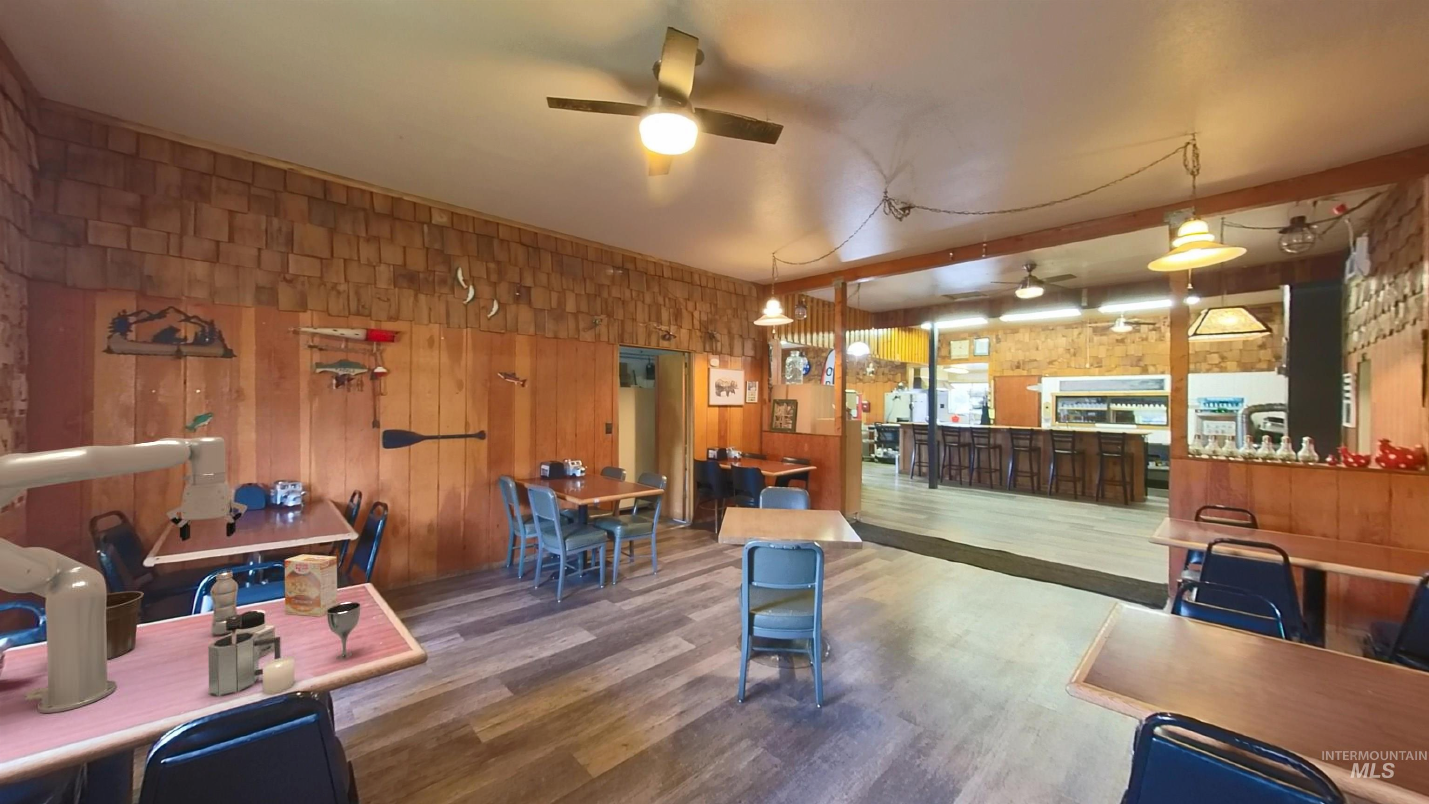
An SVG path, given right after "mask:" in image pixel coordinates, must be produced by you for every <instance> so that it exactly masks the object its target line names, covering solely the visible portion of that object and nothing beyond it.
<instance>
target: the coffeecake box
mask: <svg viewBox="0 0 1429 804" xmlns="http://www.w3.org/2000/svg"><path fill="white" fill-rule="evenodd" d="M337 561H338V559H337V556H333V555H330V556H329V555H320V554H319V555H318V554H299V555H296V556H293V557H289V558H287V559H284V595H285V596H284V608H285V609H284V611H285V612H284V614H285V615H294V616H296V615H297V616H307V617H318V618H319V617H323V616H325V615H326V616H327V610H328V609H329V608H331V607H333V606H335V605H338V562H337Z"/></svg>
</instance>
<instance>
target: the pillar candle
mask: <svg viewBox="0 0 1429 804" xmlns="http://www.w3.org/2000/svg"><path fill="white" fill-rule="evenodd" d="M295 661H296V660H295V657H292V656H285V657H283V656H282V657H281V658H278V659H275V658H274V659H273V660H270V661H268V662H266V663H265V664H263V666H262V669H263V674H262V694H263V695H275V694H279V693H282V692H284V691H286V690H289V689H290V688H291V687H293V686H294V685H295Z"/></svg>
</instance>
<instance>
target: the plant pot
mask: <svg viewBox="0 0 1429 804" xmlns="http://www.w3.org/2000/svg"><path fill="white" fill-rule="evenodd" d="M143 597H144V592H142V591H137V590H136V591H135V590H133V591H131V590H129V591H127V590H126V591H118V592H112V593H107V598H106V636H107V661H108V660H112V659H115V658H117V657H120V656H122V655H124V654H127V653H128V652H129V651H130V650H133V649H134V648H135V647H136V639H137V628H138V619H139V618H138V617H139V610H140V609H141V604H142V603H141V602H142V599H143Z"/></svg>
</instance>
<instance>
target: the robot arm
mask: <svg viewBox="0 0 1429 804" xmlns="http://www.w3.org/2000/svg"><path fill="white" fill-rule="evenodd" d="M186 462H188V467H189V468H188V472H189V473H188V475H187V476H182V481H183V482H188V485H185V486H184V489H183V493H182V500H181V505H180V506H178V507H176V508H174V509H171V510H170V511H167V512H166V515H167V517H168V518H169V520H170V521H171V522H172V523H173V524H175V525H176V526H177V527H178V528H179V538H181V542H185V541H187V540H190V538H191V525H190V524H189V523H190V522H191V521H200V520H213V519H222V518H223V519H224V520H225V521H227V523H226V524H225V525H226V526H225V528H226V531H225V532H226V537H228V538H229V537H231V536H233V535H234V533H236V532H237V531H236V530H237V528H236V521H238V520H239V519H240V518H241V517H242V516H244V513H245V512H246V511H247V508H248V505H245V504H242V503H239V502H237V501H236V502H235V501H233V496H232V491H231V487H230V483H229V482H228V481H227V482H226V442H225V439H224V438H223V437H220V436H202V437H201V436H200V437H193V438H184V437H183V438H181V437H164V438H160V439H158V440H156V441H153V442H152V441H151V442H144V443H135V444H127V445H126V444H125V445H107V446H106V445H88V446H87V445H86V446H78V447H70V448H63V449H55V450H54V449H53V450H47V451H46V450H45V451H37V452H29V453H21V452H18V453H17V452H16V453H15V452H14V453H8V454H4V455H1V456H0V509H1V508H3V507H4V506H6V505H7V504H8V503H9V502H11V501H13V499H15V498H16V497H17V496H19V495H20V494H21V493H22V492H23V491H24V490H26V489H33V488H39V487H45V486H52V485H58V484H63V483H72V482H79V481H84V480H93V479H98V478H99V479H100V478H107V477H108V478H109V477H114V476H119V475H129V474H134V473H142V472H149V471H156V470H163V469H168V468H174V467H177V466H180V465H183V464H184V463H186ZM233 508H235V509H237V510H238V511H237V512H236V514H233ZM177 513H180V517H179V516H178V515H177ZM0 589H1V590H2V591H5V592H7V593H14V594H27V593H33V594H35V595H38V596H41V597H42V598H45V604H44V605H45V607H44V608H45V617H46V618H45V619H46V620H45V623H46V624H45V625H46V651H47V652H46V655H47V657H46V659H47V663H46V664H47V685H46V687H43V688H42V687H41V688H33V689H28V690H27V692H26V693H25V696H24V697H25V702H32V701H36V700H40V702H39V703H38V705H37V710H38V712H39V713H44V714H49V713H51V714H52V713H58V712H59V713H60V712H63V711H64V712H65V711H69V710H72V709H76V708H80V707H83V706H86V705H89V704H92V703H94V702H96V701H99V700H102V699H103V698H105V697H107V696H109V695H110V694H112V693H113V692H115V690H116V689H117V683H116V681H113V680H108V660H107V636H106V598H107V594H108V593H107V585H106V580H105V578H104V575H103V574H102V573H101V572H100V571H98V570H97V569H95V568H92V567H91V566H89V565H86V564H84V563H81V562H79V561H77V560H75V559H73V558H70V557H68V556H66V555H64V554H61V553H59V552H57V551H55V550H52V549H49V548H46V547H40V546H39V547H38V546H34V547H33V546H31V547H30V546H29V547H22V546H20V545H17V544H16V543H13V542H11V541H9V540H7V539H4V538H2V537H0Z"/></svg>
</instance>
